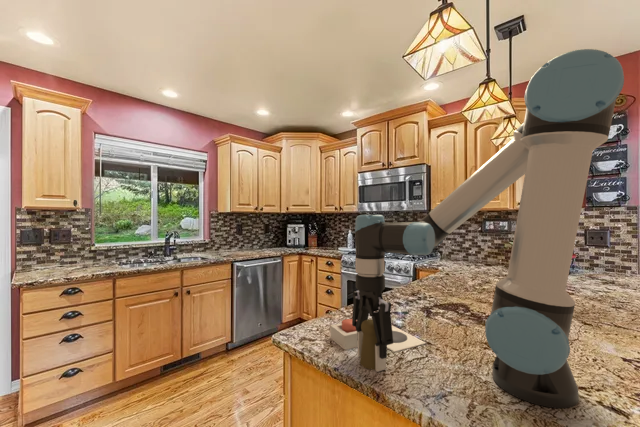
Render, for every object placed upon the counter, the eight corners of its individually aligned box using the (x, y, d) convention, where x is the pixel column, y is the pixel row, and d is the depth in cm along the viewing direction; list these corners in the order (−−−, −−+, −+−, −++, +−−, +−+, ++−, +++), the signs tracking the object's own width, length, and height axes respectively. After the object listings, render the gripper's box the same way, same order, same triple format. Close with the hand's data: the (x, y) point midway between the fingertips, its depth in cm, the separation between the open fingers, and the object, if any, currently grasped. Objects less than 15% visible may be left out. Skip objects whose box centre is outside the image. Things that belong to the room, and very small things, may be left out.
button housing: (370, 343, 85) (370, 330, 85) (344, 350, 81) (344, 335, 81) (354, 332, 93) (354, 320, 93) (330, 338, 89) (330, 325, 89)
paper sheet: (426, 343, 84) (426, 342, 84) (394, 352, 79) (394, 351, 79) (391, 325, 99) (391, 324, 99) (362, 331, 94) (362, 330, 94)
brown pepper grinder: (383, 370, 70) (383, 325, 70) (359, 368, 71) (358, 324, 71) (383, 358, 76) (382, 317, 76) (360, 356, 77) (360, 316, 77)
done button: (361, 333, 86) (361, 323, 86) (347, 336, 84) (347, 326, 84) (352, 327, 90) (352, 317, 90) (339, 330, 88) (338, 320, 88)
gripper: (408, 279, 66) (410, 378, 66) (360, 266, 84) (361, 343, 84) (382, 283, 63) (384, 387, 63) (338, 268, 81) (339, 349, 81)
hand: (371, 362), depth 73 cm, fingers open, 7 cm apart
